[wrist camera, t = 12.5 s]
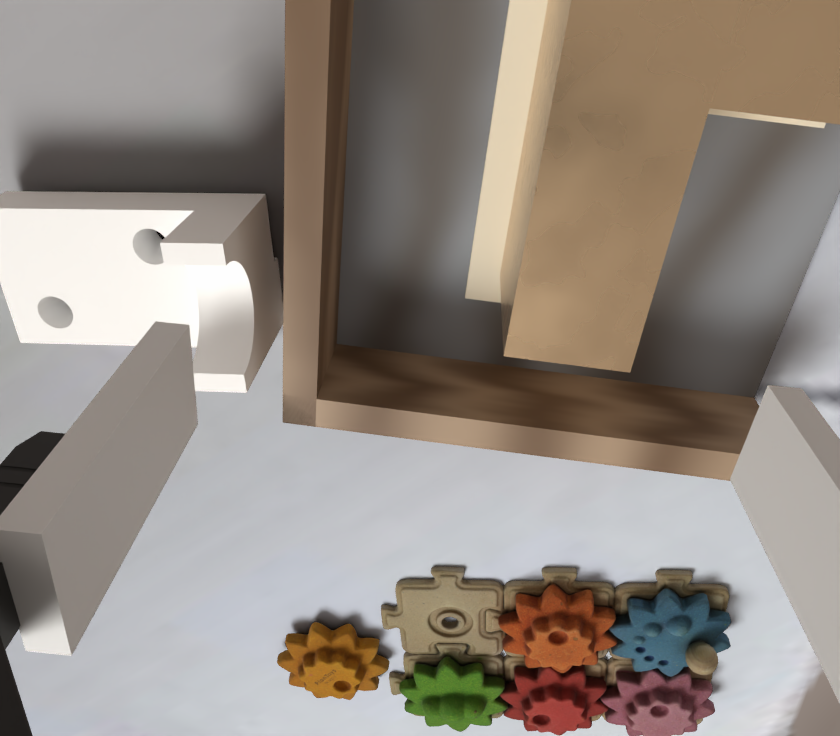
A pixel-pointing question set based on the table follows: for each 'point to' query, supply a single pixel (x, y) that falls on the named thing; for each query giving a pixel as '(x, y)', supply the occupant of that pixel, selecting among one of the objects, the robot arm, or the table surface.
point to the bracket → (145, 273)
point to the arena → (452, 245)
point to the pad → (520, 144)
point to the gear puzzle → (534, 652)
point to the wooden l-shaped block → (637, 152)
